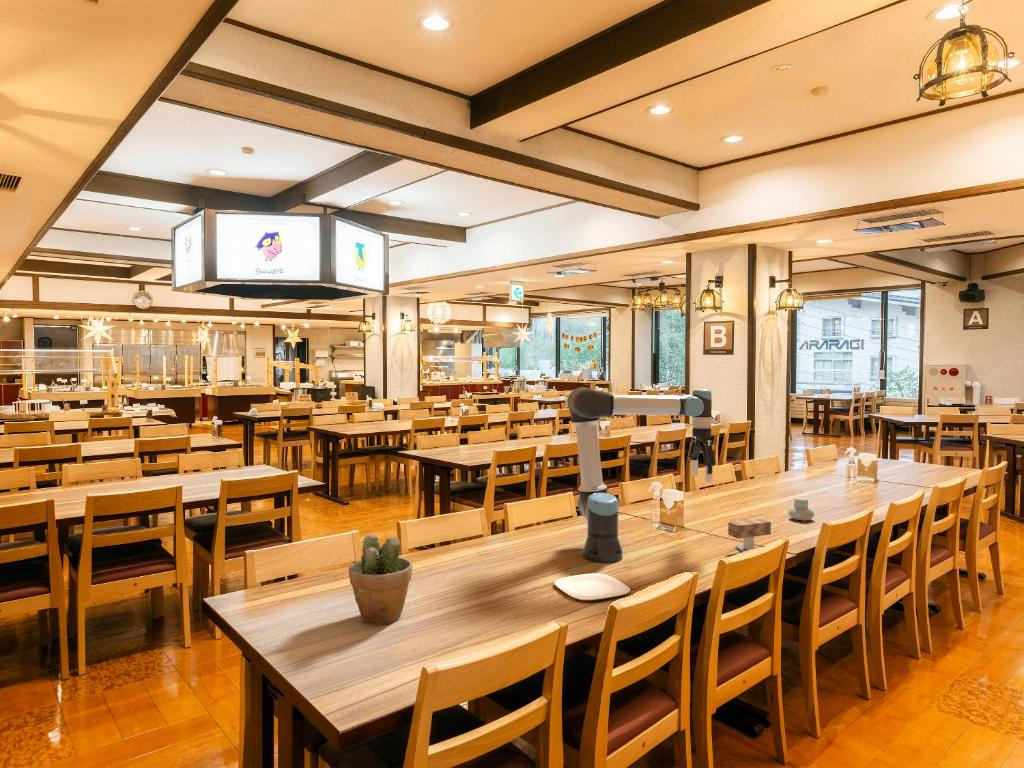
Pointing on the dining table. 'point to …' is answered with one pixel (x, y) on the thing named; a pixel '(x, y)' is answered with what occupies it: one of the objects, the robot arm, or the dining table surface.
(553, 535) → the dining table surface
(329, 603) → the dining table surface
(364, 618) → the potted plant
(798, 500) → the air freshener
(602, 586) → the plate
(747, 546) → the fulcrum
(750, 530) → the beam
